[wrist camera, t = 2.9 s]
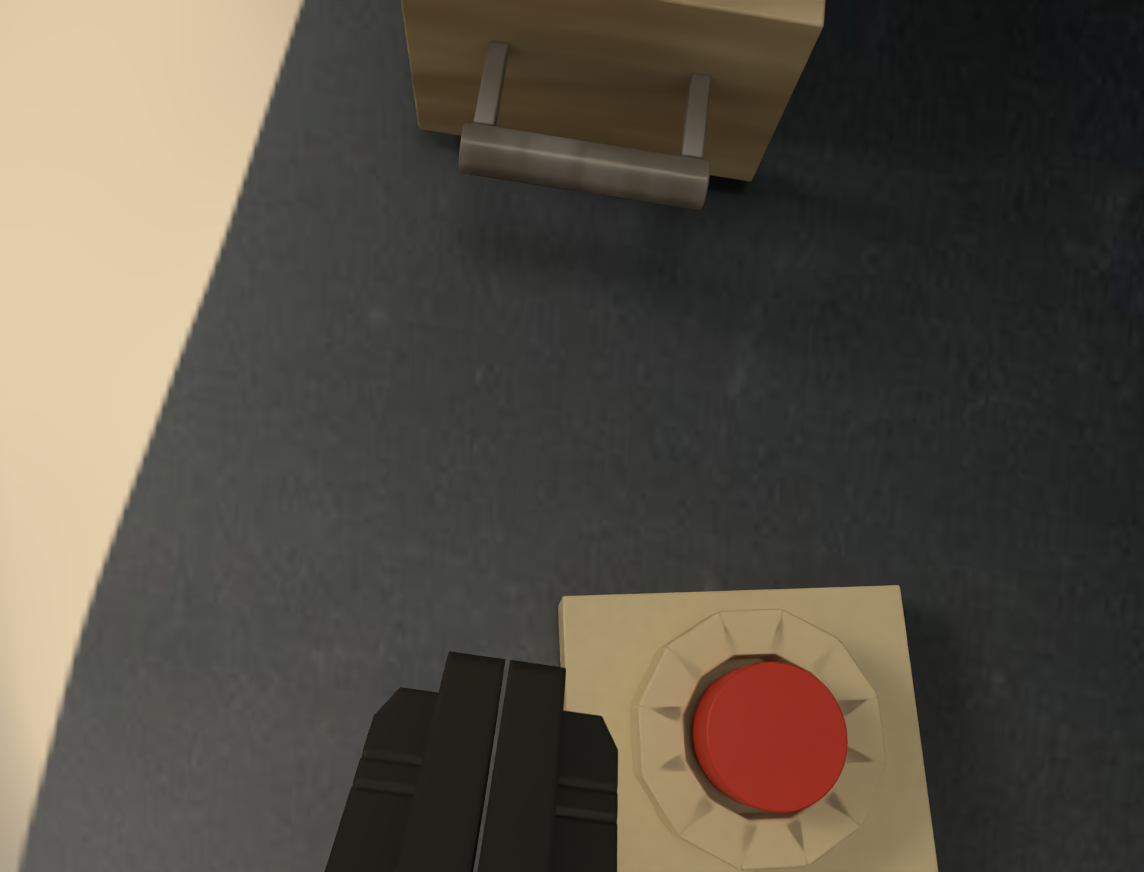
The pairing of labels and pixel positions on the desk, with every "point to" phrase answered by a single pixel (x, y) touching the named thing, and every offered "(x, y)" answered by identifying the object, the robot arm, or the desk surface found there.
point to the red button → (770, 737)
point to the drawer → (609, 88)
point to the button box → (679, 680)
